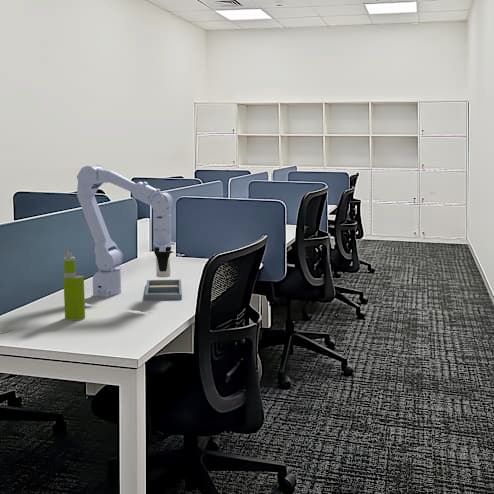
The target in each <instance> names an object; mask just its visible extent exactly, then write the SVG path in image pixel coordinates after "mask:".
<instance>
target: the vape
mask: <svg viewBox="0 0 494 494" xmlns="http://www.w3.org/2000/svg"><path fill="white" fill-rule="evenodd" d="M63 269H64V270H63V274H64V275H63V280H62V281H63V299H64V302H63V303H64V319H65V320H71V321H72V320H73V321H80V320H85V319H86V305H85V280H84V279H85V277H84V275H83V274H82V275H81V274H80V275H79V274H77V272H76V257H75V256H73V252H72V250H67V251H66V256H64V257H63Z"/></svg>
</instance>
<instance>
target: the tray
mask: <svg viewBox="0 0 494 494" xmlns="http://www.w3.org/2000/svg"><path fill="white" fill-rule="evenodd" d="M173 300H176V301H178V300H179V301H181V300H183V291H182V279H147V281H146V286H145V292H144V301H173Z"/></svg>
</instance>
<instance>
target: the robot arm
mask: <svg viewBox="0 0 494 494" xmlns="http://www.w3.org/2000/svg"><path fill="white" fill-rule="evenodd" d="M76 179H77V189H76V196H77V199H78V201H79V205H80V207H81V209H82V212H83V214H84V218H85V220H86V223H87V226H88V229H89V231H90V234H91V237H92V238H93V241H94V245H95V247H94V251H93V252H94V255H95V265H96V266H97V268H98V271H97V272H96V273H94V275H93V276H92V294H91V295H90V296H91V297H95V296H96V297H102V298H103V297H104V298H109V297H111V296H117V295H121V293H122V277H121V276H122V274H121V273H122V271H121V264H122V262H123V260H124V255H123V252H122V251H121V250H120V249H119V248H118V245H117V244H116V243H115V241H114V240H112V239H111V236H110V233H109V230H108V229H107V226H106V222H105V220H104V217H103V215H102V213H101V210H100V206H99V205H98V202H97V199H96V196H95V195H96V194H97V192H98V189H99V188H100V187H101V186H102V185H103V184H105V183H106V184H108V183H110V184H113V185H114V186H117V187H119V188H121V189H124V190H126V191H128V192H130V193H131V195H132V197H133V198H134V199H136V200H138V201H141V202H142V203H144V204H146V205H148V206H151V208H152V209H153V243H152V245H153V246H154V250H153V253H154V255H155V257H156V258H157V261H158V266H159V270H160V272H162V271H166V270H167V264H168V259H169V258H170V255H171V254H172V246H173V245H176V244H175V243H176V242H175V241H172V208H171V207H173V204H174V199H173V196H172V195H171V194H170V193H169V192H168V191H161V189H160V188H155V187H153V186H151V185H149V182H146V181H143V182H142V181H138V182H134V181H132V180H130V179H129V178H127V177H125V176H123V175H121V173H117V172H116V171H114V170H112V169H110V168H108V167H105V166H103V165H99V164H96V165H85V166H83V167H81V168H80V170H79V172H78V173H77V176H76Z"/></svg>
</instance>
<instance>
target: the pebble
mask: <svg viewBox="0 0 494 494" xmlns="http://www.w3.org/2000/svg"><path fill="white" fill-rule="evenodd" d="M155 260H156V261H155V265H156V266H155V268H156V269H155V272H156V273H155V274H156V277H157V278H169V277H171V258H170V257H169V259H168V264H167V270H166V271H162V272H160V270H159V266H158V261H157V257H156V258H155Z"/></svg>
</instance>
